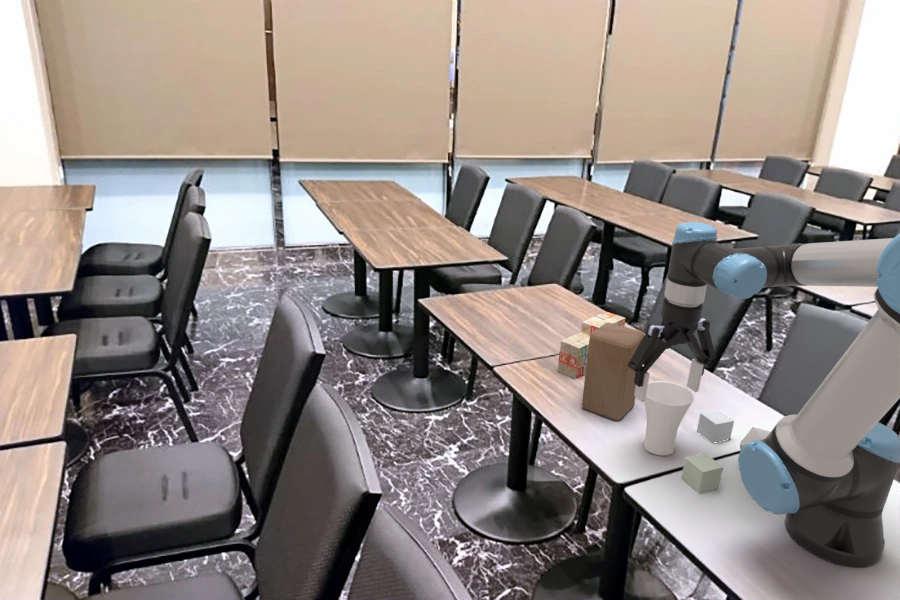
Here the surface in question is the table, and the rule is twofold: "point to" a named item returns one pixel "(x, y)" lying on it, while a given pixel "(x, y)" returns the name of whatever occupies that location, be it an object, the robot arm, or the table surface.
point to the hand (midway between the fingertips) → (666, 393)
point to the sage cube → (702, 472)
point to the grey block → (754, 436)
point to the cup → (664, 415)
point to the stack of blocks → (582, 345)
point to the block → (610, 371)
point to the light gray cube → (715, 426)
